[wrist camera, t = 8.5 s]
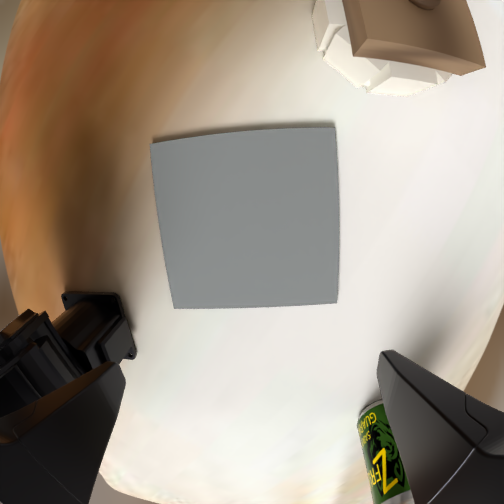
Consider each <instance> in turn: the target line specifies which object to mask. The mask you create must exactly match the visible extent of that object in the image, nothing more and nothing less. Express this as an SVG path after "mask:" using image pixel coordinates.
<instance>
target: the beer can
mask: <svg viewBox="0 0 504 504" xmlns="http://www.w3.org/2000/svg"><path fill="white" fill-rule="evenodd" d="M357 428H358V432H359V436H360V441H361V445H362V450H363V454H364V459H365V463H366V468H367V473H368V478H369V483H370V488H371V493H372V498H373V504H415V503H414V499H413V496H412V492H411V489H410V486H409V482H408V479H407V476H406V472H405V469H404V466H403V463H402V460H401V457H400V453H399V450H398V447H397V444H396V441H395V438H394V436H393V433H392V430H391V427H390V424H389V421H388V418H387V415H386V412H385V408H384V404H383V399H382V400H379V401H377V402H374V403H372V404H371V405H369V406H368V407H366V408H365V409H364V410H363V411H362V413H361V414H360V416H359V419H358V423H357Z"/></svg>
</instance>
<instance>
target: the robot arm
mask: <svg viewBox="0 0 504 504" xmlns="http://www.w3.org/2000/svg"><path fill="white" fill-rule="evenodd" d="M61 297H62V301H63V304H64V307H65V310H66V311H65V312H63V313H62V314H61V315H60V316H59V317H58V318H56V319H55V320H54V321H53V322H52V323H51V321H50V320H49V318H48V317H49V316H48V314H47V313H46V311H43V312H41V313H40V314H38V313H35V312H33V311H31V310H30V309H27V310H26V311H25V312H23V313H22V314H21V315H19V316H18V317H17V318H15V319H14V320H13V321H12V322H11V323H9V324H8V325H7V326H6V327H5V328H4V329H3V330H2V331H1V332H0V504H89V500H90V497H91V494H92V490H93V487H94V484H95V481H96V477H97V474H98V471H99V468H100V465H101V462H102V459H103V456H104V453H105V450H106V448H107V445H108V442H109V439H110V436H111V433H112V431H113V428H114V425H115V422H116V419H117V416H118V413H119V409H120V405H121V401H122V397H123V393H124V389H125V385H126V380H125V377H124V375H123V373H122V370H121V368H120V366H119V364H120V362H121V361H122V359H130V360H133V359H135V357H136V356H137V353H136V350H135V347H134V344H133V343H134V342H133V339H132V336H131V333H130V330H129V326H128V323H127V320H126V318H125V315H124V311H123V308H122V304H121V300H120V297H119V296H118V294H116V293H105V292H64V293H63V294H62V296H61ZM66 297H67V298H66ZM113 298H114V299H115V301H114V300H113ZM130 353H131V354H132V355H131V354H130ZM377 378H378V382H379V386H380V391H381V395H382V399H383V404H384V408H385V412H386V415H387V418H388V421H389V424H390V427H391V430H392V433H393V436H394V438H395V441H396V444H397V447H398V450H399V453H400V457H401V460H402V463H403V466H404V469H405V472H406V476H407V479H408V482H409V486H410V489H411V492H412V496H413V499H414V503H415V504H504V412H501V411H498V410H497V409H495V408H492V407H491V406H489V405H486V404H485V403H483V402H481V401H479V400H477V399H475V398H474V397H472V396H470V395H468V394H466V393H465V392H463V391H461V390H460V389H458V388H456V387H455V386H453V385H451V384H450V383H448V382H446V381H445V380H443V379H441V378H439V377H438V376H436V375H434V374H433V373H431V372H429V371H428V370H426V369H424V368H423V367H421V366H419V365H418V364H416V363H414V362H412V361H411V360H409V359H407V358H406V357H404V356H402V355H401V354H399V353H397V352H396V351H394V350H386V351H382V352H381V353H380V355H379V361H378V367H377Z"/></svg>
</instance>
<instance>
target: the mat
mask: <svg viewBox="0 0 504 504" xmlns="http://www.w3.org/2000/svg"><path fill="white" fill-rule="evenodd" d="M150 152H151V163H152V173H153V182H154V190H155V199H156V206H157V214H158V221H159V228H160V235H161V241H162V247H163V253H164V259H165V265H166V270H167V276H168V281H169V286H170V291H171V296H172V301H173V306H174V309H214V308H256V307H281V306H300V305H317V304H332V303H337V295H338V270H339V191H338V166H337V148H336V134H335V127H313V128H282V129H265V130H251V131H240V132H230V133H220V134H212V135H204V136H197V137H189V138H183V139H176V140H170V141H164V142H159V143H153V144H150Z"/></svg>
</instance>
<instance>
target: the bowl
mask: <svg viewBox="0 0 504 504" xmlns="http://www.w3.org/2000/svg"><path fill="white" fill-rule="evenodd" d="M312 19H313V25H314V31H315V37H316V44H317V50H318V51H323V52H324V54H325V56H324V58H323V60H324V61H325V62H326V63H328V64H329V65H330V66H331V67H333V68H334V69H335V70H336V71H337V72H339V73H340V74H341V75H342V76H343V77H344V78H346V79H347V80H348V81H349V82H350V83H351V84H352V85H353V86H354V87H356V88H357V89H358V88H359V87H361V86H362V87H364V88H366V93H370V94H382V95H392V96H400V97H408V96H410V95H414V94H416V93H419V92H421V91H424V90H426V89H429V88H432V87H434V86H437V85H439V84H442V83H445V82H446V81H447V80H448V79H449V78H450V76H451V75H452V74H453V73H449V72H445V71H441V70H437V69H432V68H428V67H423V66H418V65H413V64H407V63H402V62H395V61H389V60H381V59H373V58H364V57H353V54H352V48H351V42H350V37H349V32H348V26H347V21H346V17H345V12H344V7H343V3H342V0H316V3H315V7H314V11H313V14H312Z"/></svg>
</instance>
